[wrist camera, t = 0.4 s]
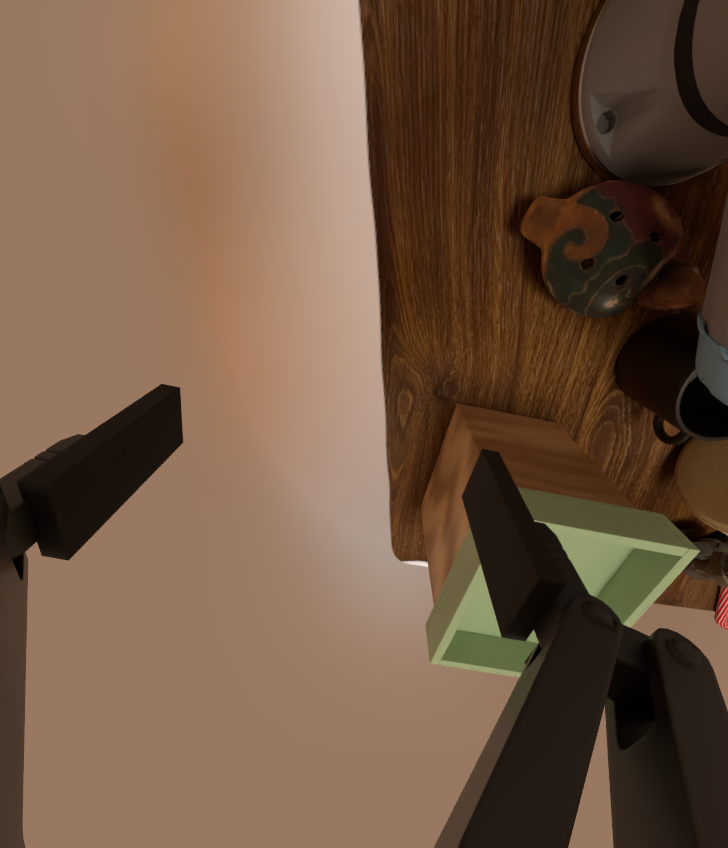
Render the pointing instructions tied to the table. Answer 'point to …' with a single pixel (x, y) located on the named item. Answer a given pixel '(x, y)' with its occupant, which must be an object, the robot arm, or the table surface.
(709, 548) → the toy robot
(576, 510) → the dish tray
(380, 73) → the table surface
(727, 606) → the candy cane
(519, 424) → the tray stand
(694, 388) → the mug
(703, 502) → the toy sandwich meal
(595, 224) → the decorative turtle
